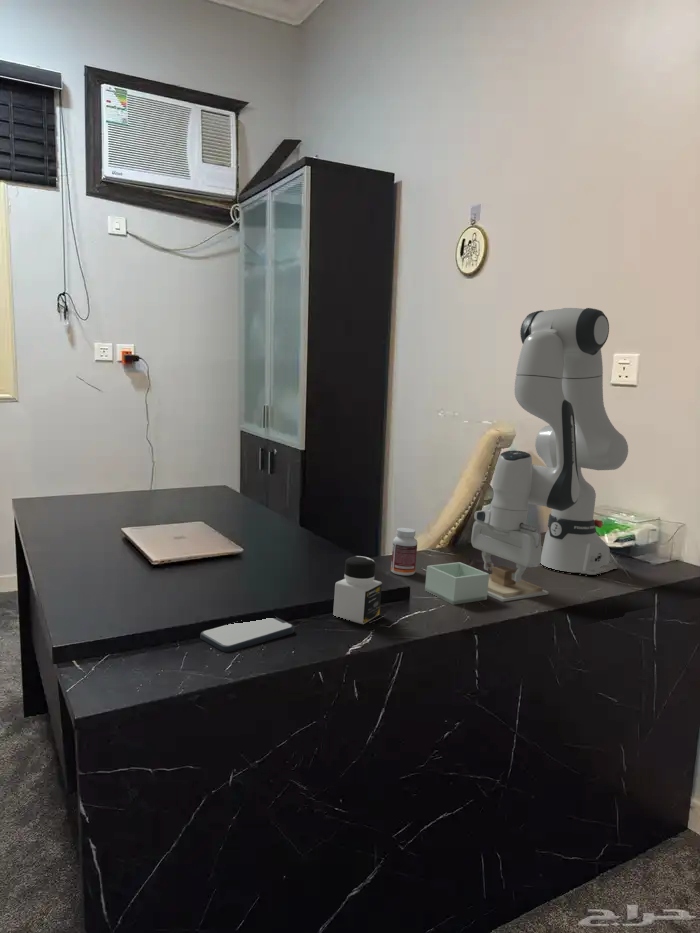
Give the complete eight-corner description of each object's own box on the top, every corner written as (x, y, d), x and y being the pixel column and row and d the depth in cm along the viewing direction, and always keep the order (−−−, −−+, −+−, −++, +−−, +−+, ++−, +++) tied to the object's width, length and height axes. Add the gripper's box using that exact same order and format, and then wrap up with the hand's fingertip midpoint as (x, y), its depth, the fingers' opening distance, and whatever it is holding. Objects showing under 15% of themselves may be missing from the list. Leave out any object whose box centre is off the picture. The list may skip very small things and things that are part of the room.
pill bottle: (420, 574, 170) (423, 531, 168) (400, 577, 166) (404, 533, 165) (404, 567, 175) (408, 526, 174) (385, 570, 172) (389, 527, 170)
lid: (503, 575, 172) (504, 559, 172) (542, 591, 161) (544, 573, 161) (464, 580, 165) (466, 563, 165) (502, 597, 154) (504, 579, 154)
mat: (502, 576, 174) (503, 574, 174) (548, 594, 161) (548, 591, 161) (458, 582, 166) (458, 579, 166) (502, 601, 153) (502, 599, 153)
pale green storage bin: (457, 586, 162) (459, 562, 161) (486, 599, 154) (489, 573, 153) (424, 590, 157) (427, 565, 156) (453, 604, 149) (455, 578, 148)
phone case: (225, 657, 115) (297, 634, 126) (225, 648, 115) (297, 626, 126) (196, 640, 121) (267, 620, 132) (197, 631, 121) (267, 612, 132)
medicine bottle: (363, 625, 133) (368, 565, 131) (332, 616, 136) (336, 558, 134) (379, 615, 139) (384, 558, 137) (349, 607, 142) (353, 551, 141)
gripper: (551, 528, 154) (543, 587, 156) (488, 510, 171) (482, 563, 173) (531, 529, 151) (524, 589, 152) (469, 511, 168) (464, 565, 170)
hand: (501, 575), depth 163 cm, fingers open, 8 cm apart
